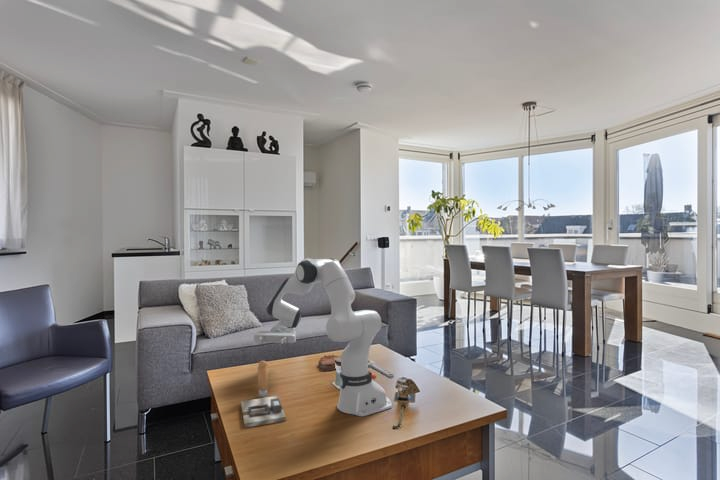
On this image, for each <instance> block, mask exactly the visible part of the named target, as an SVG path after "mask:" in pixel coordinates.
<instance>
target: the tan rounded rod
mask: <svg viewBox="0 0 720 480" xmlns="http://www.w3.org/2000/svg"><path fill="white" fill-rule="evenodd" d="M257 390H258V397H259V398H266V397H267V396H268V362H267V361H266V360H264V359H263V360H260V361H259V362H258V364H257Z"/></svg>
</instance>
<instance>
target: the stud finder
mask: <svg viewBox="0 0 720 480" xmlns="http://www.w3.org/2000/svg"><path fill="white" fill-rule="evenodd" d="M280 401H281V400H280V398H279V397H278V398H277V399H271V408H272V411H273V413H276V412H281V406H282V403H281V402H280Z"/></svg>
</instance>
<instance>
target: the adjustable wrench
mask: <svg viewBox="0 0 720 480" xmlns="http://www.w3.org/2000/svg"><path fill="white" fill-rule="evenodd" d="M368 368H372V369H373V370H376V371H377V372H379V373H381V374H383V375H385V376H386V377H387V378H390V377H391V379H392V377H393V378H394V373H392V372H390V371H388V370H387V369H384V368H382V367H381V366H379V365H377V364H376V363H375V361H374V360H372V359H368Z"/></svg>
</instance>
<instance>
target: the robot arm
mask: <svg viewBox="0 0 720 480" xmlns="http://www.w3.org/2000/svg"><path fill="white" fill-rule="evenodd" d="M292 275H293V276H291V277H287V278H285V279H284V280H283V282H282V283H281V284H280V286H279V288H278V290H276V292H275V294H274V295H273V297H272V298H271V299H270V300H269V301H268V303H267V305H266V308H265V310H266V312H267V316H270V317H273V318H275V319H278V321H279V322H277V323H276V324H275V325H274V326H273V327H272V328H270V330H259V331H258V332H255V333H254V334H253V341H254V342H255V343H259V344H263V343H276V344H280V345H283V343H284V344H285V343H286V344H287V343H289V344H294V343H295V342H296V341H297V339H296V338H297V329H296V328H297V327H298V325H299V323H300V321H301V319H302V311H301V309H300V308H299V307H298V306H295V305H293V304H291V303H289V302H286V301H285V300H283V299H282V298H283V297H284V296H285V294H294V295H300V296H302V295H305V294H308V293H310V292H311V291H312V289H313V288H314V285H315V284H318V283H319V284H323V287H324V289H325V291H326V294H327V297H328V300H329V303H330V307H331V308H330V310H331V313H330V317H329V319H328V320H327V322H326V326H325V331H326V334H327V337H328V338H329V340H331V341H332V342H335V343H336V342H338V343H340V342H341V343H342V342H343V343H344V342H348V344H347V346H345V348H344V349H343V350H342V351H341V354H340V357H341V369H340V373H339V386H340V387H339V388H340V389H339V397H338V402H337V405H336V407H337V409H338V410H339V411H340V412H342V413H345V414H348V415H354V416H357V417H366V416H369V415H371V414H376V413H379V412H383V411H385V410H386V411H387V410H389V409H391V408H392V407H393V403H392V401H391V400H390V398H389V397H388V396H387V393H386V391H385V389H384V387H382V385H380V384H379V383H377V381H374V380H377V375H376V374H375V373H374V372H373V373H372V372H371V371H370V370H369V367H368V360H369V353H370V350H371V349H370V348H371V345H372V343H373V341H374V338H375V337H376V335H377V334H378V332H380V330H381V328H382V324H383V323H382V318H381V315H380V313H378V312H377V311H376V310H373V309H362V310H361V309H360V310H356V311H354V310H353V309H352V304H353V302H354V301H355V299H356V292H355V290H354V288H353V285H352V283H351V281H350V279H349V276H348V275H347V273H346V271H345V270H344V267H343V266H342V263H341V262H340V261H339V260H338V259H335V258H331V257H330V258H314V259H313V258H308V257H307V258H303V259H302V260H301V261H300V262H298V264H297V265H296V267H295V271H294V273H293V274H292Z"/></svg>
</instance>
